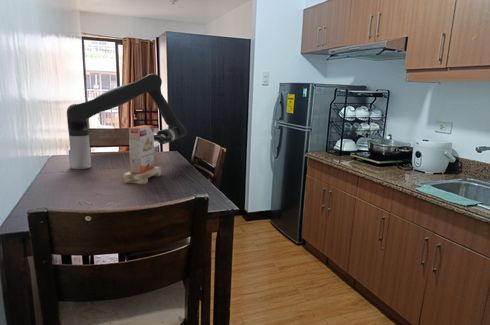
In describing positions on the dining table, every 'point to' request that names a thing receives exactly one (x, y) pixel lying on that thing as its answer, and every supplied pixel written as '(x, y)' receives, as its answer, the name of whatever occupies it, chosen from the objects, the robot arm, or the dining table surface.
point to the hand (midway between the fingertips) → (152, 140)
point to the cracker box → (141, 148)
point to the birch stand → (141, 176)
